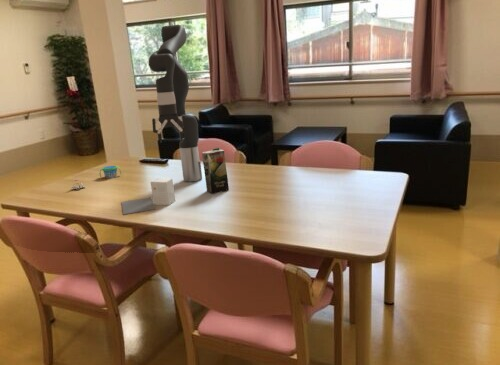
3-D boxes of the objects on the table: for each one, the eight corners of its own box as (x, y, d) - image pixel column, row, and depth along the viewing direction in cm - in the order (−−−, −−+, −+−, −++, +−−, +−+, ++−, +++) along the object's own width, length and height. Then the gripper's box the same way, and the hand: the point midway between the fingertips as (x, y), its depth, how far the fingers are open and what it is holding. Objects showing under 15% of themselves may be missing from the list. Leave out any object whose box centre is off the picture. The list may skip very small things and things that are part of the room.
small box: (175, 201, 181) (172, 178, 178) (169, 205, 176) (166, 182, 173) (160, 200, 183) (157, 178, 180) (153, 204, 178) (150, 181, 175)
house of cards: (67, 196, 201) (64, 181, 199) (67, 192, 209) (64, 178, 207) (87, 193, 205) (84, 178, 203) (86, 189, 212) (83, 175, 210)
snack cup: (122, 177, 232) (120, 164, 230) (121, 180, 224) (119, 167, 222) (101, 179, 229) (99, 166, 227) (100, 183, 222) (97, 169, 220)
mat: (150, 198, 188) (150, 197, 188) (155, 209, 171) (155, 208, 171) (121, 202, 184) (121, 202, 184) (123, 214, 168) (123, 214, 167)
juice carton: (200, 150, 187) (206, 150, 182) (219, 147, 192) (225, 147, 187) (205, 192, 191) (211, 194, 186) (224, 188, 196) (230, 190, 191)
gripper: (182, 101, 177) (186, 138, 181) (149, 104, 174) (154, 141, 178) (184, 102, 170) (188, 140, 174) (149, 105, 167) (154, 144, 171)
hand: (171, 141), depth 176 cm, fingers open, 8 cm apart
